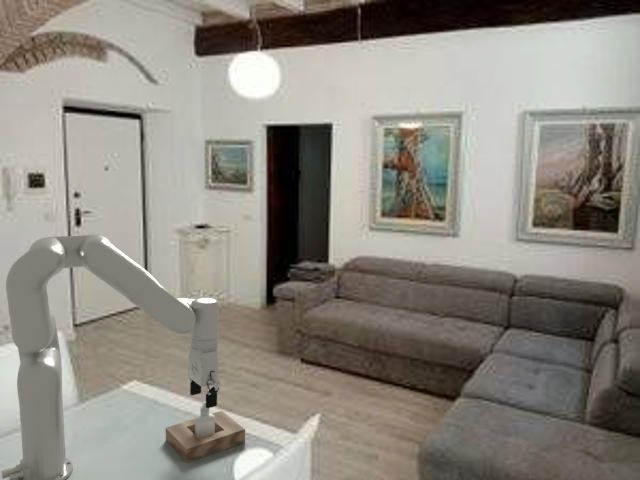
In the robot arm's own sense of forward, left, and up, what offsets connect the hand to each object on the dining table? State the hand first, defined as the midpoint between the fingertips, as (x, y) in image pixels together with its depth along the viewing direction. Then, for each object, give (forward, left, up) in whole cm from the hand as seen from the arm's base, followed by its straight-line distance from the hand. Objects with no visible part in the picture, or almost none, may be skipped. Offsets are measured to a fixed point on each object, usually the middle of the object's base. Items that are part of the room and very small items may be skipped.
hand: (203, 400), depth 149 cm
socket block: (+1, 0, -13) cm, 13 cm away
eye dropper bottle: (0, 0, -13) cm, 13 cm away
